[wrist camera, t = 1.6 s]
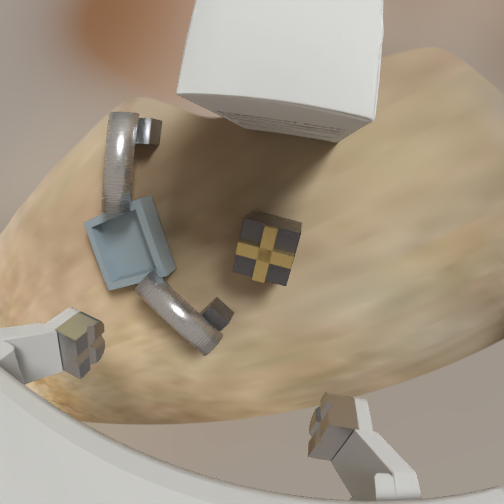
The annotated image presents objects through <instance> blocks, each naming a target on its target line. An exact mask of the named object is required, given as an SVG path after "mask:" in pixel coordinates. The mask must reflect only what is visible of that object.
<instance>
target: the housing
mask: <svg viewBox="0 0 504 504" xmlns="http://www.w3.org/2000/svg"><path fill="white" fill-rule="evenodd" d="M84 225H85V228H86V231H87V234H88V237H89V240H90V243H91V246H92V249H93V251H94V254H95V257H96V260H97V262H98V265H99V268H100V270H101V273H102V275H103V278H104V280H105V283H106V285H107V288H108V290H113V289H117V288H121V287H126V286H130V285H134V284H138V283H140V282H141V281H142V279H143V278H144V277H145V276H146V275H147V274H149V273H150V272H151V271H152V270H154V271H155V272H156V273H157V274H158V275H159V276H160V277H161V278H162V277H166V276H168V275H169V274H170V273H171V272H172V271H174V270H175V269H176V266H175V263H174V260H173V257H172V255H171V252H170V249H169V246H168V243H167V240H166V238H165V235H164V232H163V229H162V226H161V223H160V220H159V217H158V214H157V211H156V208H155V205H154V202H153V198H152V196H148V197H144V198H140V199H137V200H135V201H132V202H131V207H130V212H128V213H121V214H111V213H104V214H102V215H99V216H97V217H95V218H93V219H91V220H88V221H86V222H84Z"/></svg>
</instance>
